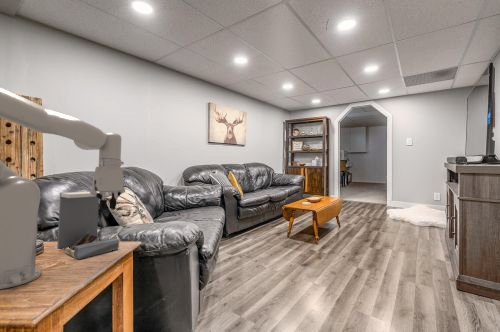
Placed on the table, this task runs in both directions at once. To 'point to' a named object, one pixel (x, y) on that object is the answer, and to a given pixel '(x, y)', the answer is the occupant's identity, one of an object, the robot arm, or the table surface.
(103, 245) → the long grey base block
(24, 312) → the table surface
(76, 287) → the table surface
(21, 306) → the table surface
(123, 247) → the table surface
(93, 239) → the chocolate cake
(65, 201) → the upright grey panel
